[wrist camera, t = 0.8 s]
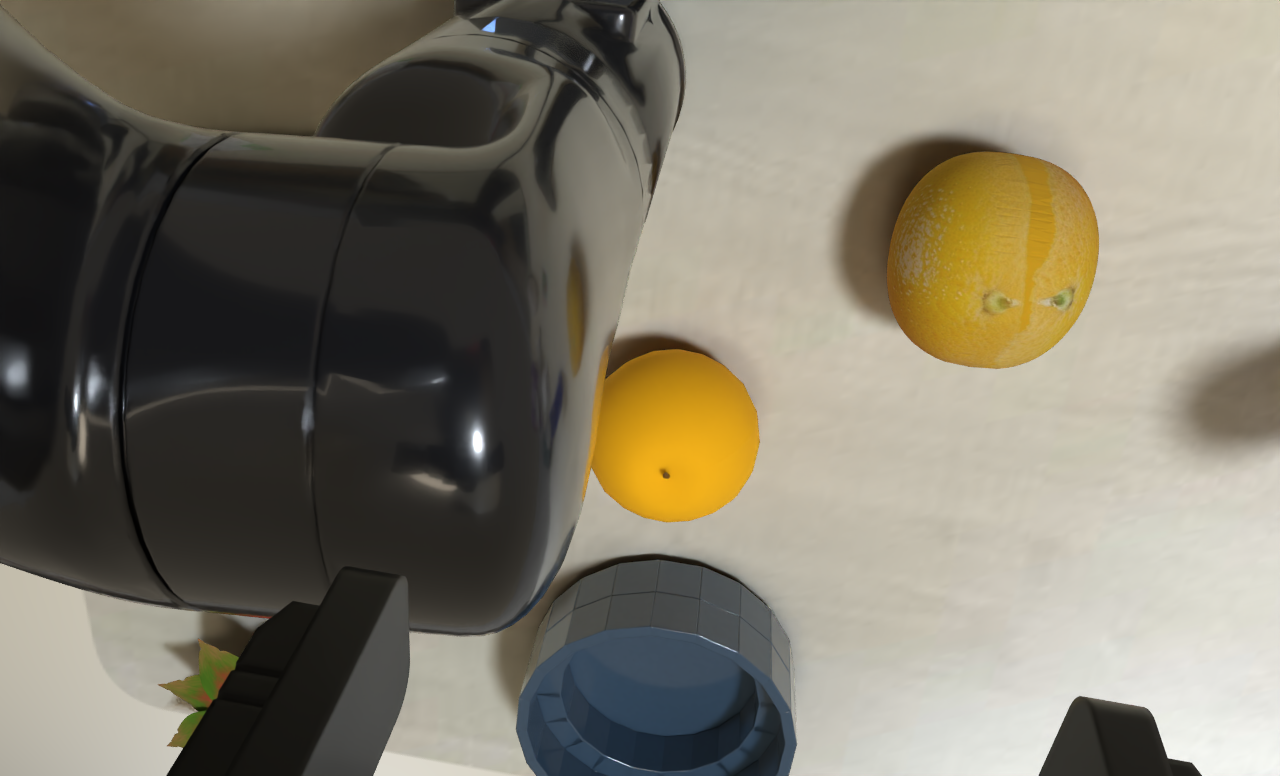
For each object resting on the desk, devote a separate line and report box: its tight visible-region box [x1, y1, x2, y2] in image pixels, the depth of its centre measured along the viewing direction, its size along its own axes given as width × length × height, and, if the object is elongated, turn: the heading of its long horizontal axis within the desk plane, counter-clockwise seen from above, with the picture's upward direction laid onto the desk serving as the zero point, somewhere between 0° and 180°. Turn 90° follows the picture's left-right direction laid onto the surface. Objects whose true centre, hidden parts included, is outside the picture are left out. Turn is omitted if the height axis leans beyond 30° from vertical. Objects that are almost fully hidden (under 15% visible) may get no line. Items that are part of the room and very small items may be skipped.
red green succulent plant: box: [158, 639, 239, 748], centre depth 62 cm, size 12×12×5 cm
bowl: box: [516, 560, 797, 776], centre depth 58 cm, size 14×14×6 cm
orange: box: [591, 349, 760, 522], centre depth 50 cm, size 8×8×8 cm
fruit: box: [887, 152, 1099, 369], centre depth 44 cm, size 9×8×8 cm
